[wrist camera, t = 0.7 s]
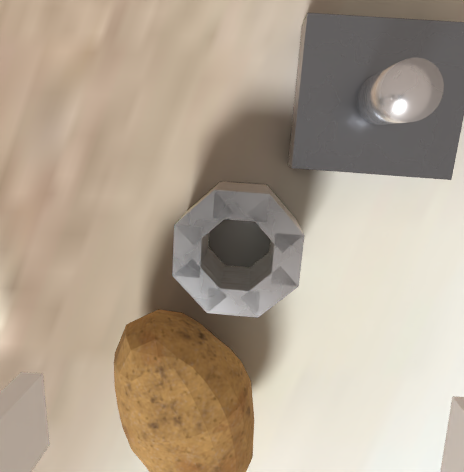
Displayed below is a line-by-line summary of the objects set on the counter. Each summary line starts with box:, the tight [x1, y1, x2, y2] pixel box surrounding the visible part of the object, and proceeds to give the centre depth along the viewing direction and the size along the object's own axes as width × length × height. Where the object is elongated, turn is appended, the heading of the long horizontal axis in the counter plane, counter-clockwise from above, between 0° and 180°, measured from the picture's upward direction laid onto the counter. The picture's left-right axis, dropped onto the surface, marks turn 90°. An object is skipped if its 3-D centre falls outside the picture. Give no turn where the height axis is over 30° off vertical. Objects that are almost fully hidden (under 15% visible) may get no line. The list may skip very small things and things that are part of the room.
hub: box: [172, 181, 304, 317], centre depth 28 cm, size 8×8×5 cm
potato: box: [114, 309, 254, 472], centre depth 30 cm, size 10×14×8 cm
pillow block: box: [288, 13, 464, 180], centre depth 24 cm, size 10×9×8 cm
